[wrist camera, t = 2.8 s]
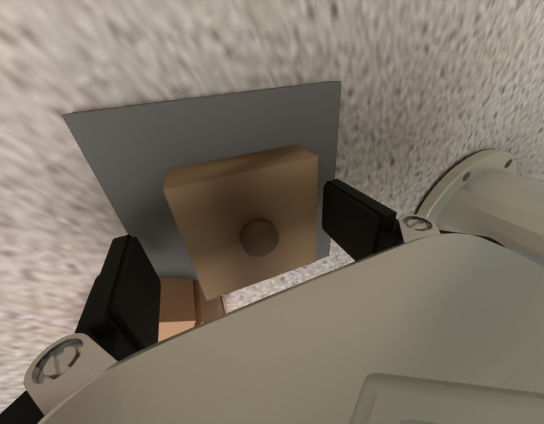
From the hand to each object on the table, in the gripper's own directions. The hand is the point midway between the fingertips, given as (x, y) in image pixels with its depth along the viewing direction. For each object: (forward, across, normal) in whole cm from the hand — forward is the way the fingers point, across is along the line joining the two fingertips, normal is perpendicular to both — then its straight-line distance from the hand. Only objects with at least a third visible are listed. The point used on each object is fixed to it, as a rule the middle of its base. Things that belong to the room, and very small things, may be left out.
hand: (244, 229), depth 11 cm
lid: (+2, 0, 0) cm, 2 cm away
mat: (+3, -1, 0) cm, 3 cm away
